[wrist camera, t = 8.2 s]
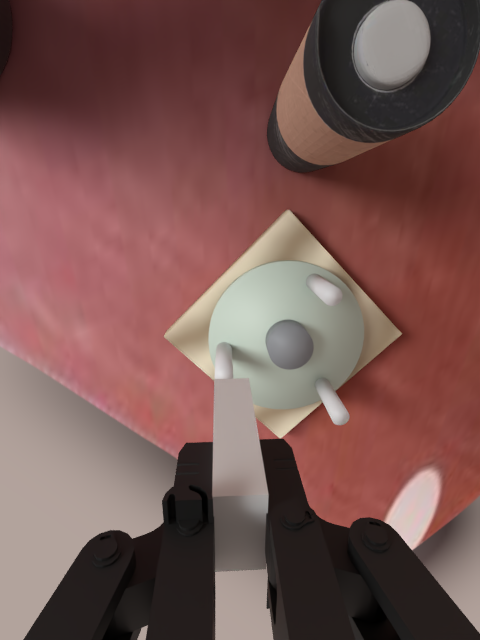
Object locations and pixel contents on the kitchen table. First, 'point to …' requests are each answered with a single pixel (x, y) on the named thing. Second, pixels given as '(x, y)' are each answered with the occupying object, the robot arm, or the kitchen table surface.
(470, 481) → the kitchen table surface
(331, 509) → the kitchen table surface
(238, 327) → the green peg holder
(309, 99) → the travel mug
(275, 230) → the stand base
